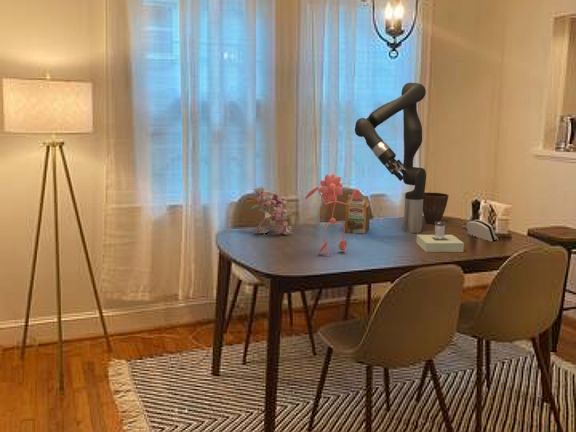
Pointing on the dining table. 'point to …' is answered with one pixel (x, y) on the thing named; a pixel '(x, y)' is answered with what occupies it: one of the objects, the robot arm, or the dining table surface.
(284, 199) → the flower
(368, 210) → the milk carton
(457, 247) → the hole plate
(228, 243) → the dining table surface
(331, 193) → the pink blossom sprig
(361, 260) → the dining table surface
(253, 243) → the dining table surface
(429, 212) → the plant pot
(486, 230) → the grey napkin holder
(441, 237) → the steel peg
